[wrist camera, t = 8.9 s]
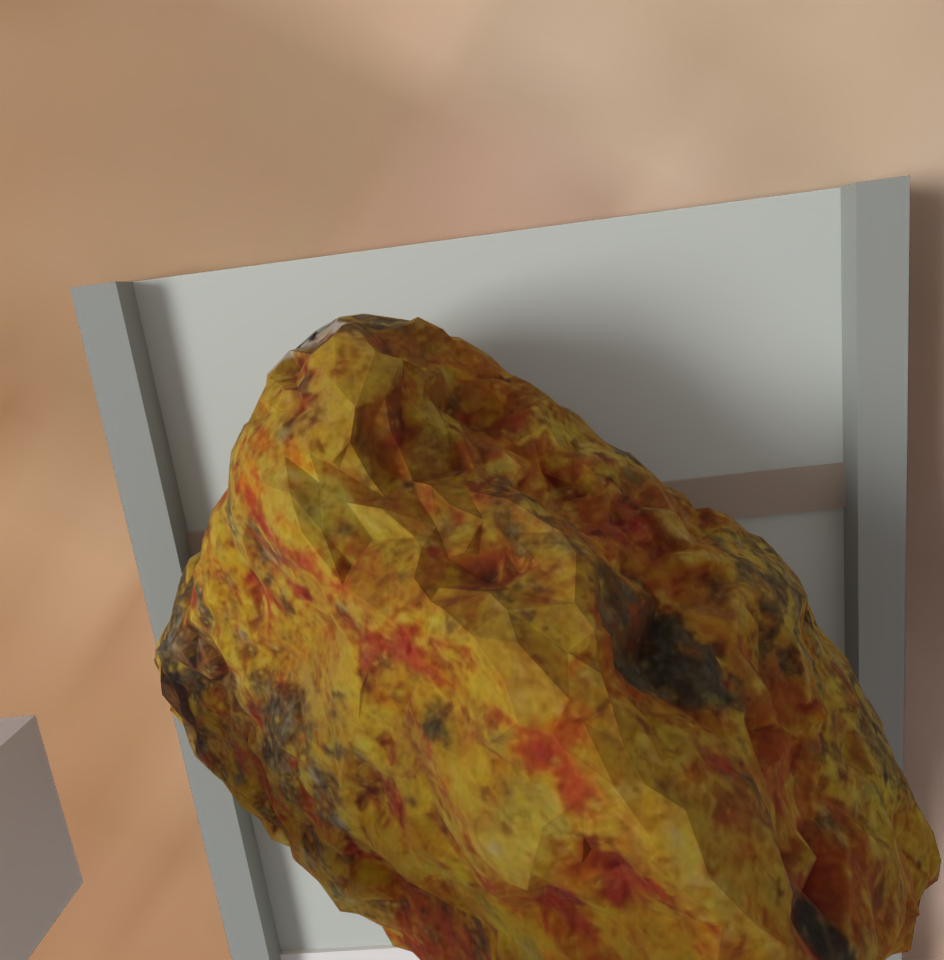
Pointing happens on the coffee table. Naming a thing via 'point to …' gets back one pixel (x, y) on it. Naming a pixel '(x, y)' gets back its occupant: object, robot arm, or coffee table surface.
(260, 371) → the mat
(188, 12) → the coffee table surface
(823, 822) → the rock
